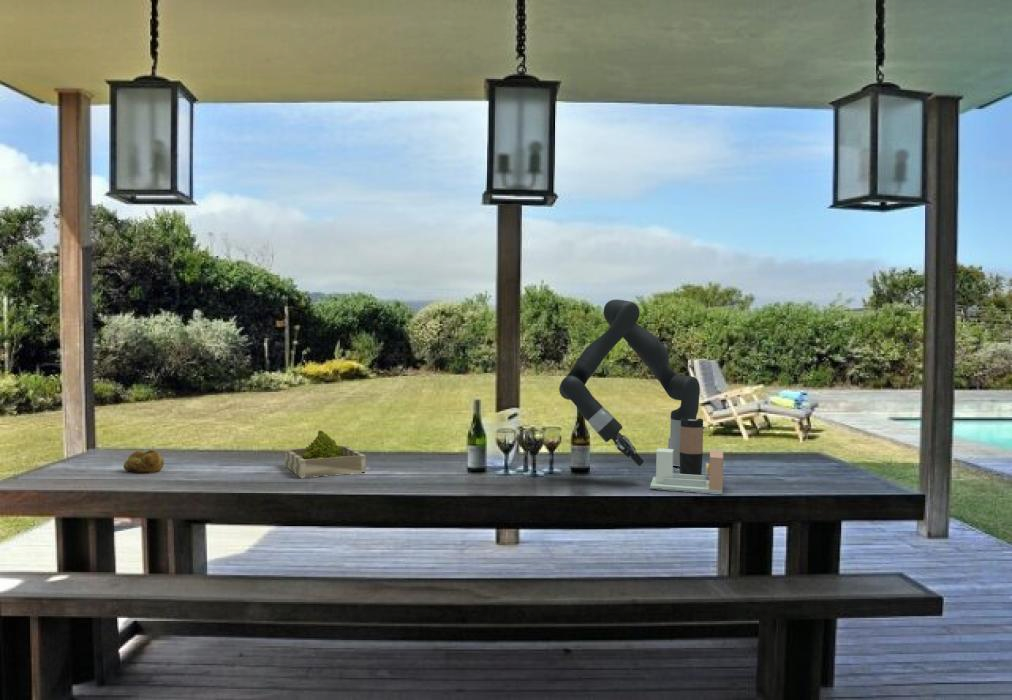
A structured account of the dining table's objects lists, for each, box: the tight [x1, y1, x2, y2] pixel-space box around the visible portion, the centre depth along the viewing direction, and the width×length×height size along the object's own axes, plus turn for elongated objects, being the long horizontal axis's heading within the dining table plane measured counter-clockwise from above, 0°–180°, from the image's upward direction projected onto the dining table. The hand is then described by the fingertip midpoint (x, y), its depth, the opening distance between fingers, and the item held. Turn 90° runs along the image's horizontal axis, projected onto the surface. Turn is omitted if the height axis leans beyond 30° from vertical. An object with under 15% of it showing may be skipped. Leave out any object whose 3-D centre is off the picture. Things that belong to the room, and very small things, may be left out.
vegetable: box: [302, 430, 345, 460], centre depth 275 cm, size 15×16×15 cm
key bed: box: [649, 449, 724, 494], centre depth 253 cm, size 22×14×12 cm, turn 75°
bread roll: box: [123, 449, 165, 474], centre depth 268 cm, size 13×10×8 cm
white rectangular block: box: [655, 447, 674, 483], centre depth 254 cm, size 5×6×10 cm
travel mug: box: [679, 418, 704, 475], centre depth 269 cm, size 8×8×20 cm
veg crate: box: [284, 445, 367, 479], centre depth 275 cm, size 23×22×6 cm
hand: (641, 463), depth 256 cm, fingers closed
